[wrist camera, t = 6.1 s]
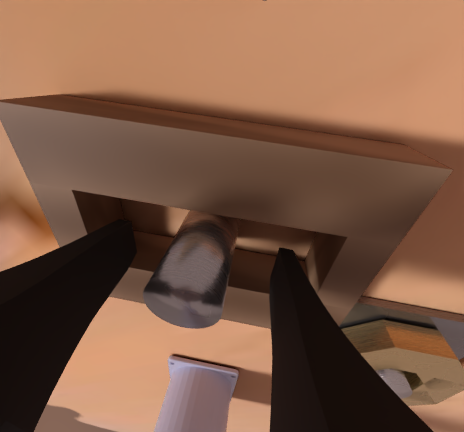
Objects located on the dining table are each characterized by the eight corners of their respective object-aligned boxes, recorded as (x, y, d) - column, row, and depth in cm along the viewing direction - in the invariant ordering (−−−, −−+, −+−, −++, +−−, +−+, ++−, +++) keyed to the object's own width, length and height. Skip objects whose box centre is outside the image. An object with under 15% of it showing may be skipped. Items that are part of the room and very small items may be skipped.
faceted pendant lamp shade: (404, 388, 19) (432, 453, 16) (287, 363, 20) (291, 421, 17) (480, 338, 14) (544, 418, 11) (321, 307, 15) (336, 374, 11)
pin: (237, 239, 14) (220, 334, 9) (192, 232, 14) (149, 320, 9) (242, 198, 12) (224, 286, 7) (190, 190, 12) (136, 271, 7)
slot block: (318, 297, 15) (328, 340, 13) (108, 257, 16) (79, 290, 14) (403, 144, 9) (453, 169, 7) (58, 94, 10) (-9, 100, 8)
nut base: (401, 386, 21) (434, 464, 17) (288, 362, 21) (292, 431, 17) (497, 321, 14) (591, 422, 10) (331, 290, 15) (354, 373, 11)
